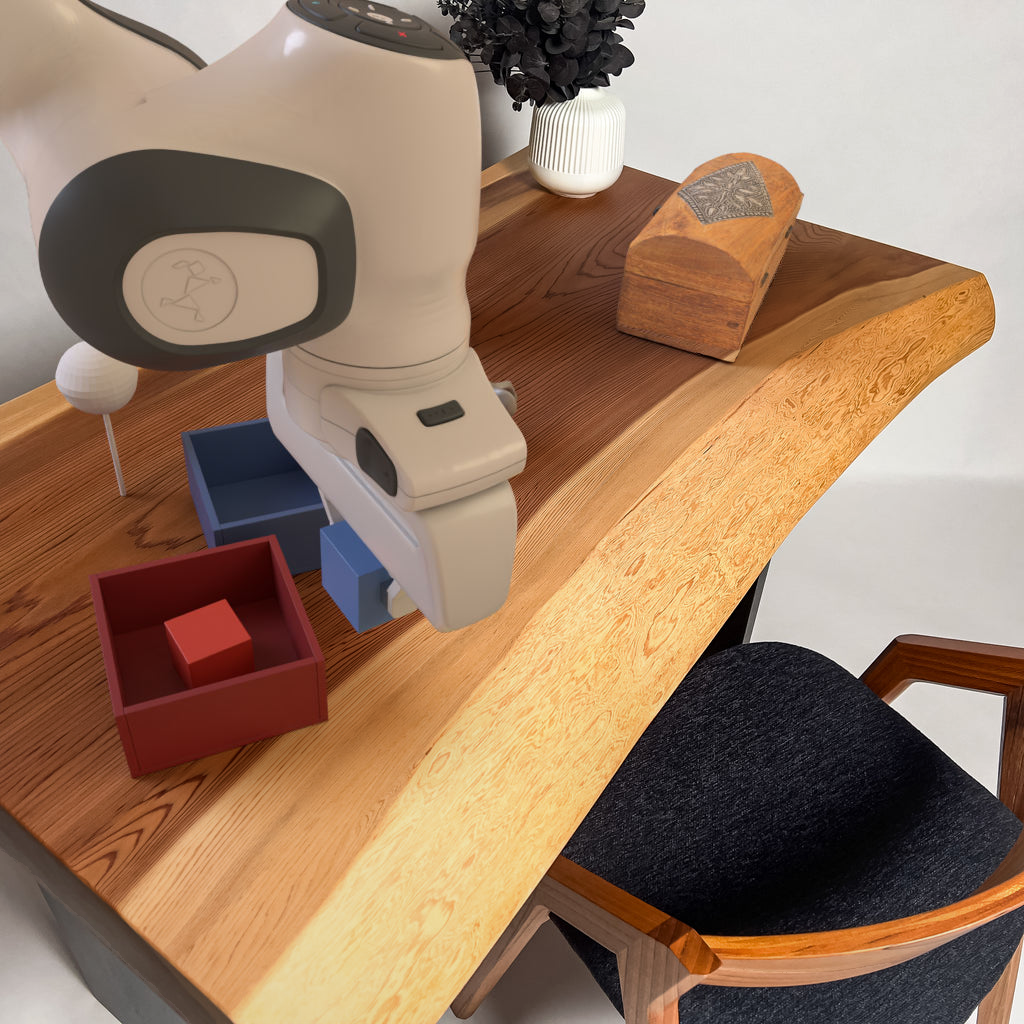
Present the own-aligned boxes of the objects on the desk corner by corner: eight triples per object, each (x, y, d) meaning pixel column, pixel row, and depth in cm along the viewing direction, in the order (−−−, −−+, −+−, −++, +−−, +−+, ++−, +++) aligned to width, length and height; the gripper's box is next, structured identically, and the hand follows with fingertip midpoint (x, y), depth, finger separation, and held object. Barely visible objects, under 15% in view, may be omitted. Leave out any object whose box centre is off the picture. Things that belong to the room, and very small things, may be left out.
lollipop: (131, 464, 87) (100, 317, 78) (174, 492, 85) (148, 343, 75) (71, 496, 83) (30, 345, 73) (115, 526, 81) (79, 374, 71)
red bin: (132, 779, 63) (114, 717, 59) (105, 637, 72) (88, 574, 68) (328, 720, 68) (325, 659, 64) (280, 594, 77) (275, 533, 72)
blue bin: (222, 591, 76) (213, 530, 72) (190, 491, 85) (180, 432, 81) (381, 554, 81) (381, 495, 77) (335, 463, 90) (333, 405, 86)
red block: (196, 706, 67) (188, 664, 64) (172, 664, 70) (163, 621, 67) (257, 680, 69) (251, 638, 66) (231, 640, 72) (225, 598, 69)
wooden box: (671, 237, 136) (692, 138, 127) (786, 267, 131) (816, 167, 122) (599, 328, 114) (618, 216, 105) (734, 367, 110) (766, 254, 101)
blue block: (358, 634, 54) (358, 577, 51) (321, 585, 57) (319, 528, 54) (426, 605, 56) (430, 549, 54) (388, 559, 59) (389, 503, 56)
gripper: (227, 291, 51) (247, 492, 60) (429, 509, 39) (417, 719, 48) (334, 269, 54) (338, 463, 63) (551, 464, 42) (519, 670, 51)
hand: (374, 575), depth 56 cm, fingers closed on blue block, 4 cm apart
